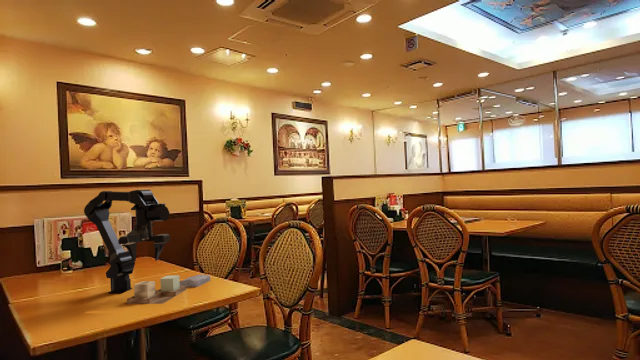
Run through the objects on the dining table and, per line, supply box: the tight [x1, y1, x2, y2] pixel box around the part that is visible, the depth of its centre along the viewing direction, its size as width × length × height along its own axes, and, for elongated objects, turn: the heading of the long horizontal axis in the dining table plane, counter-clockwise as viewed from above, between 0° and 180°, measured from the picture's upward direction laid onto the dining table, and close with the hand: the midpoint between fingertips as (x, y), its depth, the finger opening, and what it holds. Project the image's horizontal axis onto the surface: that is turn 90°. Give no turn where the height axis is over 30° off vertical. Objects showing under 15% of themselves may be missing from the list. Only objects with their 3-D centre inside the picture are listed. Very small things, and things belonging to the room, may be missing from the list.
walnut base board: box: [125, 286, 187, 305], centre depth 144 cm, size 14×18×2 cm
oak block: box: [133, 280, 156, 298], centre depth 140 cm, size 5×5×6 cm
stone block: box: [180, 274, 211, 288], centre depth 162 cm, size 12×5×10 cm
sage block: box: [160, 274, 181, 291], centre depth 148 cm, size 5×5×6 cm
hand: (145, 261), depth 153 cm, fingers open, 9 cm apart
